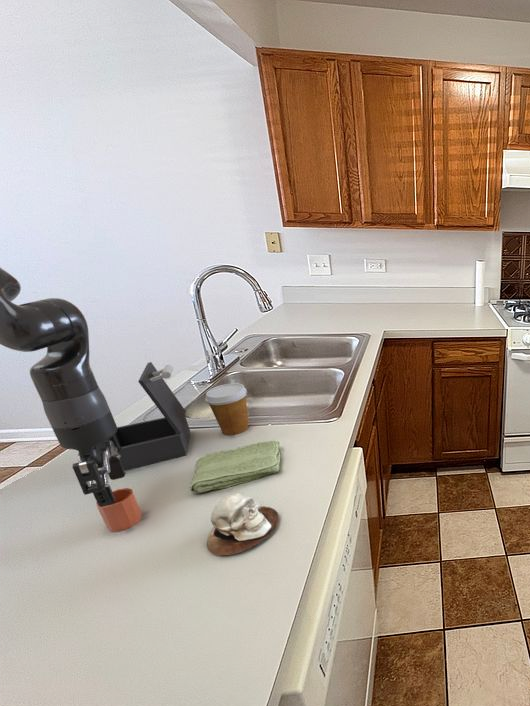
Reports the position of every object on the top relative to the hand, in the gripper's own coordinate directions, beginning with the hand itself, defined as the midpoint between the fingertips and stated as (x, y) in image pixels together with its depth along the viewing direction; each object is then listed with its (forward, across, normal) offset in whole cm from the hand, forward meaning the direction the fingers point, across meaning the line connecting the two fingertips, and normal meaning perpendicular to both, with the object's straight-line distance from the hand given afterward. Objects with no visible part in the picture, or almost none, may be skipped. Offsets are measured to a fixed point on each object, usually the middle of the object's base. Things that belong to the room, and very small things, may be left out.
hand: (113, 490), depth 75 cm
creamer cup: (+8, 0, 0) cm, 8 cm away
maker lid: (-6, -27, +6) cm, 28 cm away
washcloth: (+8, -7, +19) cm, 22 cm away
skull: (+8, +14, +20) cm, 26 cm away
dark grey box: (+8, -27, +1) cm, 28 cm away
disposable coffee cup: (+8, -28, +19) cm, 35 cm away
